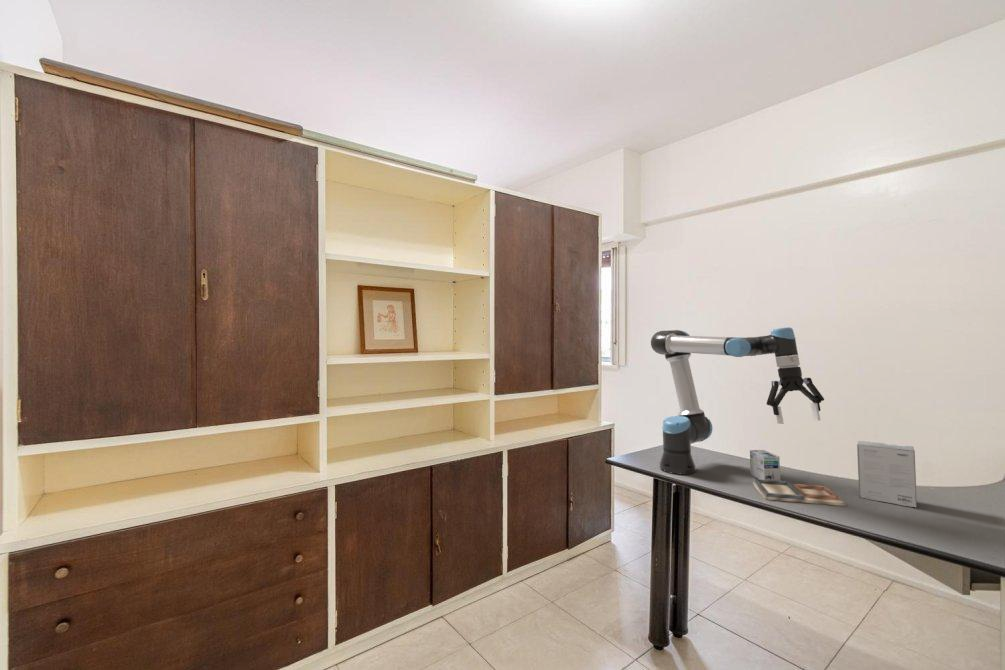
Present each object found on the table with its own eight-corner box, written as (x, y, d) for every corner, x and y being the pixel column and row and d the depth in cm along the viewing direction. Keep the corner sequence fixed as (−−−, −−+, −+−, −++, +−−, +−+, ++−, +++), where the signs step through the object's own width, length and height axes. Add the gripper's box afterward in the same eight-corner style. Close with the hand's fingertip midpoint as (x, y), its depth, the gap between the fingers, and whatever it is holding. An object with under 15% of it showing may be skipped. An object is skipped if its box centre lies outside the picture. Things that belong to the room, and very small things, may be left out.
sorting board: (765, 499, 155) (765, 493, 155) (753, 484, 170) (753, 478, 170) (845, 506, 148) (845, 499, 148) (825, 489, 163) (825, 484, 163)
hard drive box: (916, 501, 150) (914, 446, 150) (917, 508, 144) (915, 451, 144) (859, 491, 160) (858, 439, 160) (858, 497, 155) (856, 443, 155)
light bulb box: (781, 482, 172) (780, 456, 172) (764, 483, 172) (763, 456, 172) (765, 474, 182) (764, 449, 182) (749, 474, 182) (748, 449, 182)
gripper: (761, 370, 161) (770, 425, 158) (828, 363, 159) (839, 419, 156) (751, 370, 168) (760, 423, 165) (815, 364, 166) (825, 417, 164)
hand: (798, 421), depth 161 cm, fingers open, 13 cm apart
